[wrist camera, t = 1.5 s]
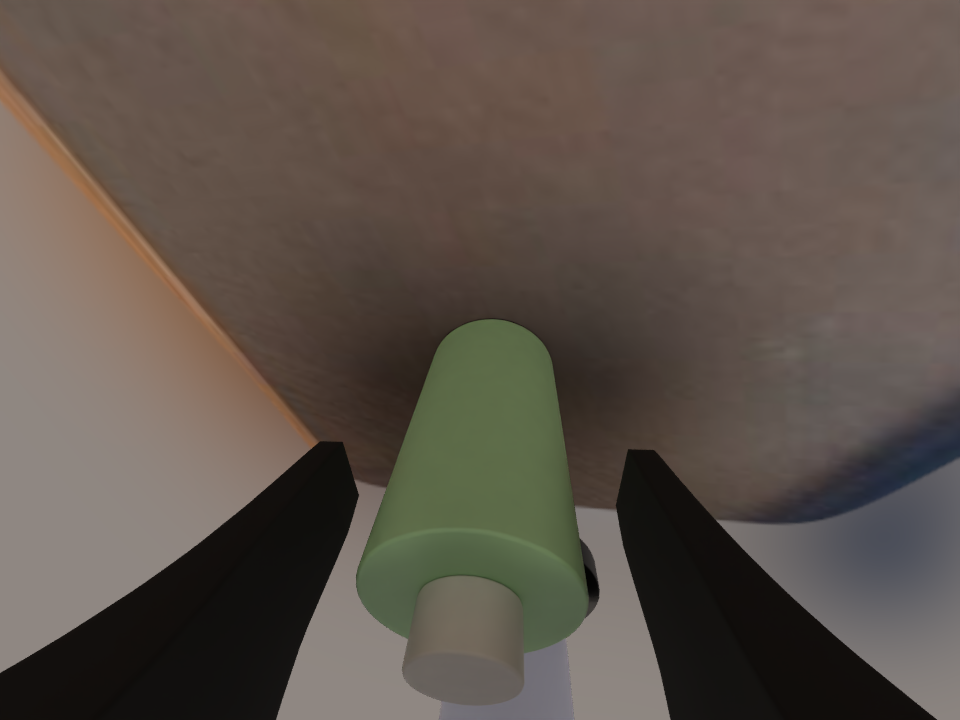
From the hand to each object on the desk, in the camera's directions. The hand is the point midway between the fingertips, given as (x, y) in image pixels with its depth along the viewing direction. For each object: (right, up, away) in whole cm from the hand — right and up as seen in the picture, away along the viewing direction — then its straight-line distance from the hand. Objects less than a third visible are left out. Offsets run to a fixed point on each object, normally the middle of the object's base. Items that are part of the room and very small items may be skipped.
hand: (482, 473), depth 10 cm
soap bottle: (0, +2, +4) cm, 5 cm away
